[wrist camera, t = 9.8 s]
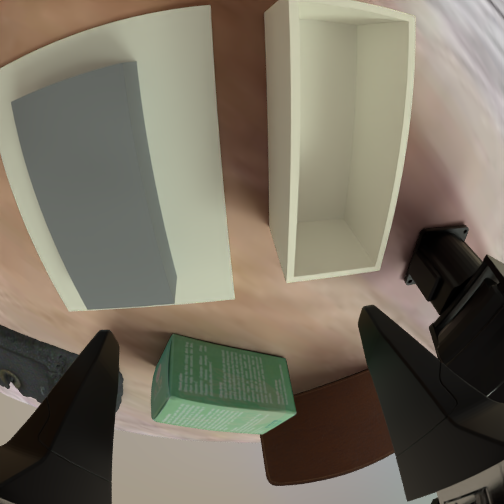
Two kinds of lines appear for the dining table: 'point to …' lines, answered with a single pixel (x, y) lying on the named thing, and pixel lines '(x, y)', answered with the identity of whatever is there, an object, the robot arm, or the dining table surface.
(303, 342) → the dining table surface
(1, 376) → the dark slate chunk
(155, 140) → the pale cream mat
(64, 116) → the grey rectangular block
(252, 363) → the box
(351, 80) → the base
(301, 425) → the letter holder
